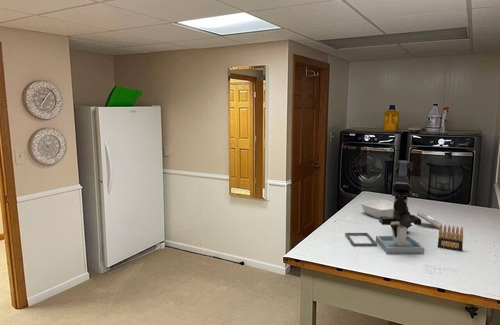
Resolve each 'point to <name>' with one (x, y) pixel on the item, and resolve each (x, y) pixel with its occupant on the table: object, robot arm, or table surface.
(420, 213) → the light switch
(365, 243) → the holder frame
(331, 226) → the table surface
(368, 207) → the white bowl
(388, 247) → the tray
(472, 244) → the table surface
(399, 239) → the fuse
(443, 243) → the ammunition clip
